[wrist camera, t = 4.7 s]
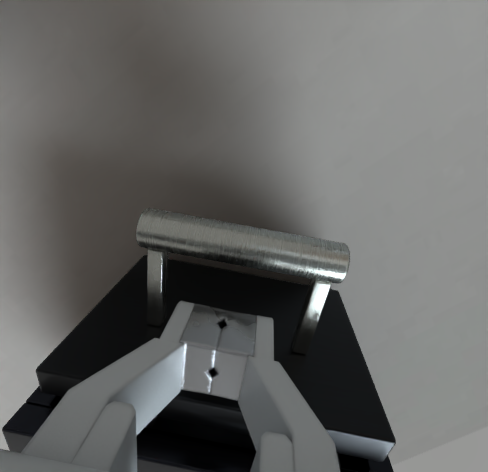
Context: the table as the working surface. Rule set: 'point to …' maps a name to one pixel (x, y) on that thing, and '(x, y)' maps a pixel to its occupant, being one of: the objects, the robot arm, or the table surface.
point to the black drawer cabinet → (163, 445)
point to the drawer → (243, 301)
